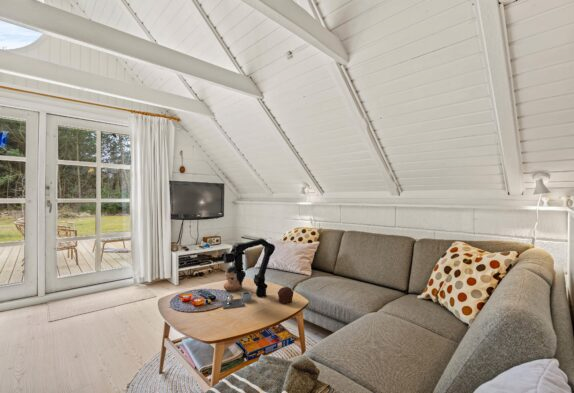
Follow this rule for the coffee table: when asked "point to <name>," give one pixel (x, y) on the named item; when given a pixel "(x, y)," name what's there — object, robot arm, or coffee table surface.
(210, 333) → the coffee table surface
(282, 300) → the muffin
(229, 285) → the ceramic jug
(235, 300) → the flange plate
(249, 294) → the collar
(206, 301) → the coffee table surface
